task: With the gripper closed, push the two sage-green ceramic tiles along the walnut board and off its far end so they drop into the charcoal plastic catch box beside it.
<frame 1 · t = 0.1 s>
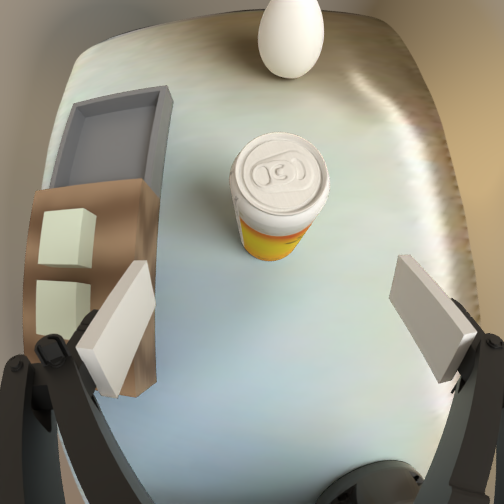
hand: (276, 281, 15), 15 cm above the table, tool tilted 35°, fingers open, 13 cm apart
beer can: (269, 233, 31), on the table
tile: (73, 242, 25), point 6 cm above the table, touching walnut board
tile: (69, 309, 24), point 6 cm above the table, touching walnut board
air blower bulb: (286, 73, 35), on the table
catch box: (115, 151, 33), on the table
walnut board: (99, 287, 30), on the table
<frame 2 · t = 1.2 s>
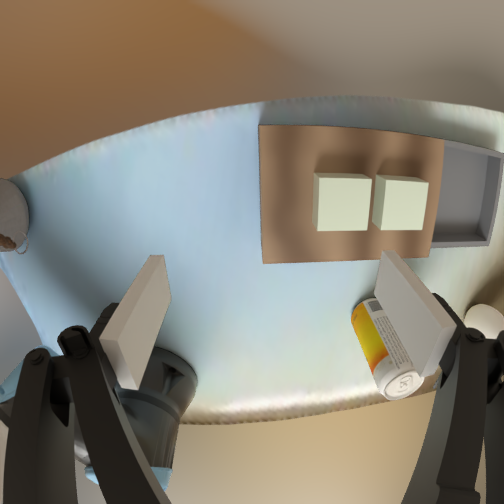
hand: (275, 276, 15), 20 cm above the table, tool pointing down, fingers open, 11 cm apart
beer can: (367, 311, 42), on the table
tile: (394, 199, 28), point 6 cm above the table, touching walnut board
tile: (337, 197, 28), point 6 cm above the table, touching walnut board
air blower bulb: (470, 310, 43), on the table
coffee pot: (33, 205, 34), on the table
catch box: (452, 190, 33), on the table
walnut board: (343, 184, 34), on the table
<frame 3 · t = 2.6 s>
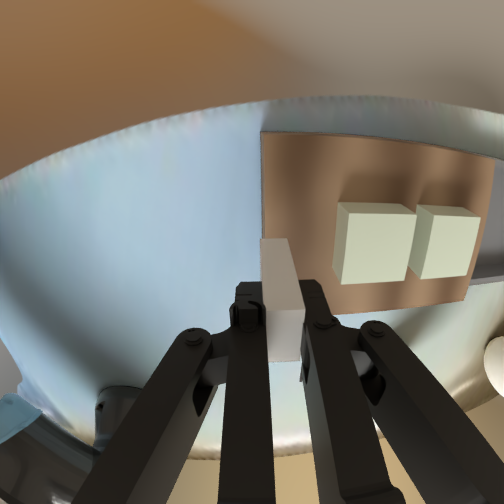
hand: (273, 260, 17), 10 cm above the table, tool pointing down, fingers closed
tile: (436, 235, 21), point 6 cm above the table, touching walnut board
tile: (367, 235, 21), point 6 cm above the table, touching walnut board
air blower bulb: (490, 342, 35), on the table
catch box: (489, 216, 26), on the table
walnut board: (368, 211, 26), on the table
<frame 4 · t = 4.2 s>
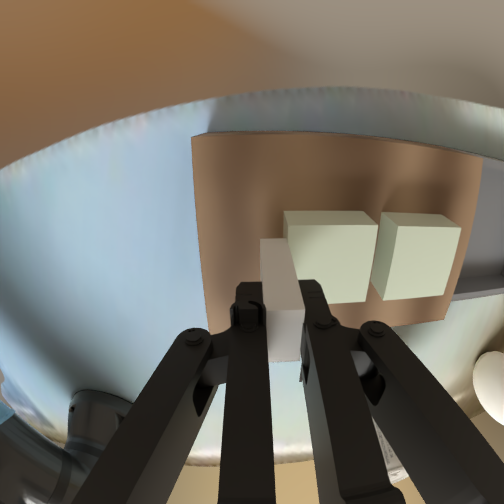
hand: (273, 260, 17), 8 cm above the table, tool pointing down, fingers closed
beer can: (359, 368, 32), on the table
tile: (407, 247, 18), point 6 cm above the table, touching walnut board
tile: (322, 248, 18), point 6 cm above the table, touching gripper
air blower bulb: (481, 356, 33), on the table
catch box: (479, 222, 24), on the table
walnut board: (333, 217, 24), on the table
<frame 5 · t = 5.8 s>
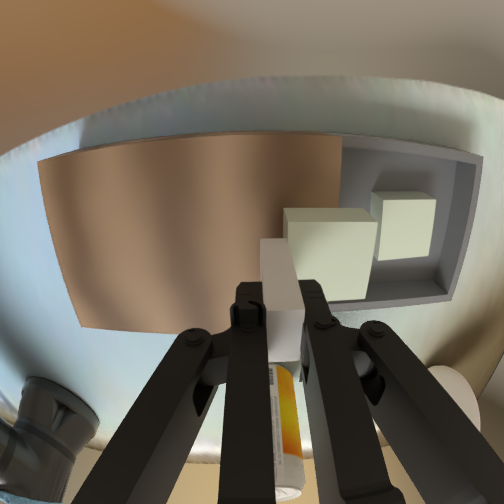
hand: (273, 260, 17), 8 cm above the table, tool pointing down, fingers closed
beer can: (265, 375, 32), on the table
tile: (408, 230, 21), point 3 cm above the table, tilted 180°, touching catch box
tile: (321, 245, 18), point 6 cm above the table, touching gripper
air blower bulb: (428, 370, 33), on the table
catch box: (391, 218, 24), on the table
walnut board: (194, 219, 24), on the table
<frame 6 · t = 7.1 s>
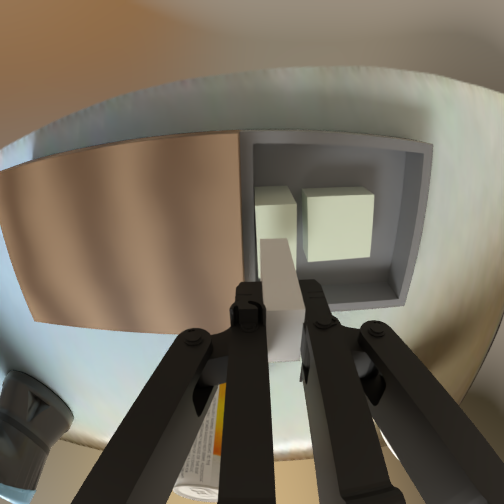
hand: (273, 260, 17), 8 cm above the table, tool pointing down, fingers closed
beer can: (215, 375, 32), on the table
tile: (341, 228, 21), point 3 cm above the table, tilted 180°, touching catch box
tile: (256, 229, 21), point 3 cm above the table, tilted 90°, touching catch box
catch box: (329, 216, 24), on the table
walnut board: (128, 222, 24), on the table
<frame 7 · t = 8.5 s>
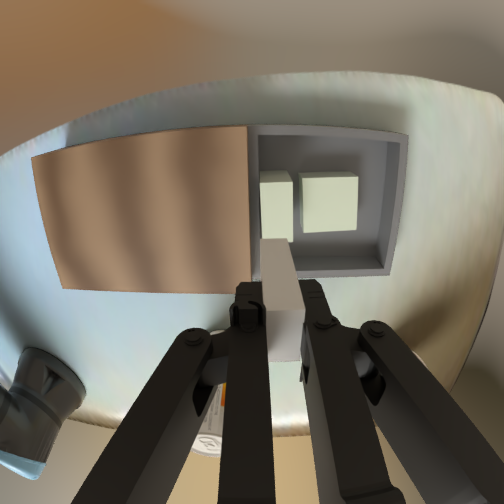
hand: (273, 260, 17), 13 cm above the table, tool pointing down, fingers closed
beer can: (223, 343, 37), on the table
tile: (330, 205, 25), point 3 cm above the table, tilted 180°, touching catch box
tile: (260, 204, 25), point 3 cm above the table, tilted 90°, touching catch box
catch box: (322, 196, 28), on the table
walnut board: (151, 200, 29), on the table
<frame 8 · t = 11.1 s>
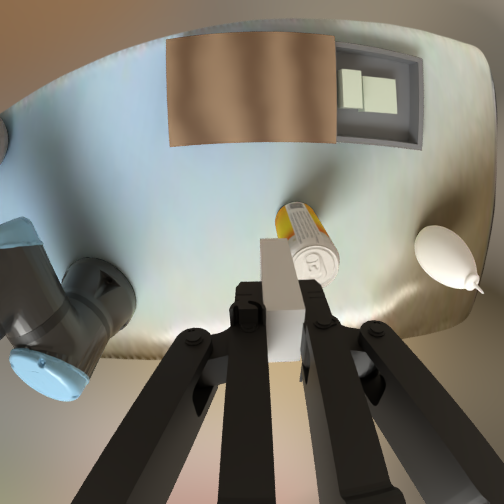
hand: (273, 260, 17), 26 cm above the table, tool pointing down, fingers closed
beer can: (295, 219, 44), on the table
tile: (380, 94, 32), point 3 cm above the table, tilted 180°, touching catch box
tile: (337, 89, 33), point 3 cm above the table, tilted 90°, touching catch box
air blower bulb: (423, 237, 45), on the table
coffee pot: (12, 135, 36), on the table
catch box: (371, 96, 35), on the table
walnut board: (251, 89, 35), on the table
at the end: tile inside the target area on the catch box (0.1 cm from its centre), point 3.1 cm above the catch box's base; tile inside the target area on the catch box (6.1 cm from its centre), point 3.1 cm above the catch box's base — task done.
